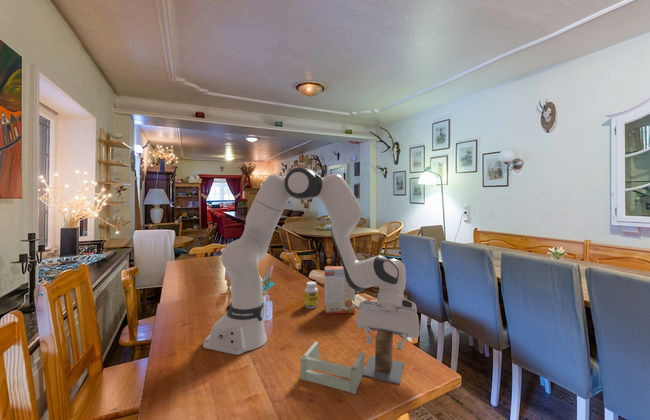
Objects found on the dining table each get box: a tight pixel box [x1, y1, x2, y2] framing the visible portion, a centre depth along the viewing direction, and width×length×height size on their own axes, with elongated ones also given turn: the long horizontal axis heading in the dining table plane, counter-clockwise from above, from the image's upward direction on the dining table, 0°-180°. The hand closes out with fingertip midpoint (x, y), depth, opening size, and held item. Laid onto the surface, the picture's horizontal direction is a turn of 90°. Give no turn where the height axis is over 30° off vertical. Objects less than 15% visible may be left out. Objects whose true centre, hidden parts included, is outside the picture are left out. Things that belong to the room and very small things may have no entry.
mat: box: [362, 355, 405, 386], centre depth 90 cm, size 11×11×1 cm
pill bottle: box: [304, 280, 319, 309], centre depth 140 cm, size 6×6×12 cm
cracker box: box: [324, 265, 356, 314], centre depth 134 cm, size 14×6×21 cm, turn 92°
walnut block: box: [374, 330, 394, 374], centre depth 90 cm, size 4×4×11 cm
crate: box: [300, 341, 365, 395], centre depth 87 cm, size 17×10×6 cm, turn 68°
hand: (384, 346), depth 89 cm, fingers open, 8 cm apart
